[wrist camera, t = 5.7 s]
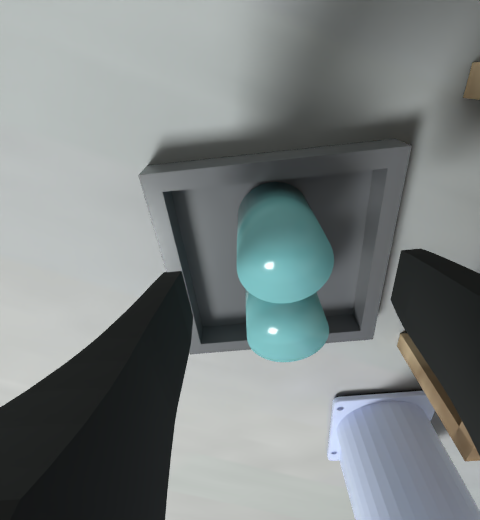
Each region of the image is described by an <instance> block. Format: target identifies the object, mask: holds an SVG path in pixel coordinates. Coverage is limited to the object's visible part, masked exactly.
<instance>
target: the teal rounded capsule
mask: <svg viewBox="0 0 480 520" xmlns="http://www.w3.org/2000/svg"><path fill="white" fill-rule="evenodd" d="M333 266H334V254H333V250H332V247H331V245H330V243H329V241H328V239H327V237H326V235H325V233H324V231H323V229H322V228H321V226H320V224H319V222H318V220H317V218H316V216H315V214H314V212H313V211H312V209H311V207H310V205H309V203H308V201H307V199H306V198H305V196H304V195H303V193H302V192H301V191H300V190H298V189H297V188H296V187H294V186H292V185H290V184H287V183H283V182H269V183H265V184H262V185H259V186H257V187H255V188H254V189H252V190H251V191H250V192H249V193H248V194H247V195H246V196H245V197H244V199H243V200H242V202H241V204H240V206H239V209H238V215H237V274H238V277H239V280H240V282H241V283H242V285H243V286H244V288H245V289H246V290H247V291H248V292H249V293H250V294H252V295H253V296H255V297H257V298H259V299H261V300H263V301H267V302H271V303H292V302H296V301H300V300H302V299H305V298H307V297H309V296H311V295H313V294H314V293H316V292H317V291H318V290H319V289H320V288H321V287H322V286H323V285H324V284H325V283H326V282H327V280H328V279H329V277H330V275H331V272H332V269H333Z"/></svg>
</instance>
